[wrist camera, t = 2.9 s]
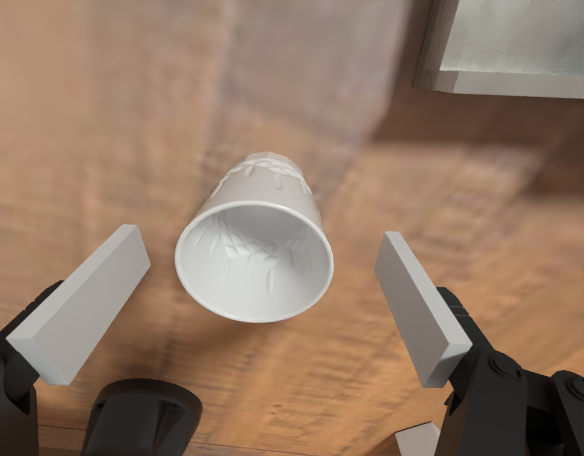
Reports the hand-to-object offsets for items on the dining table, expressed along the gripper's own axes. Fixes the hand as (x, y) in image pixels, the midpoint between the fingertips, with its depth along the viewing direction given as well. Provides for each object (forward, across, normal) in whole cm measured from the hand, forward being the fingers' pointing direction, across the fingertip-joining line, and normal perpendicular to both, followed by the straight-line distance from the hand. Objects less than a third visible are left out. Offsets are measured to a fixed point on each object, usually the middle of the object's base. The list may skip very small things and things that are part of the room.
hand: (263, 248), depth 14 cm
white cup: (+9, 0, 0) cm, 9 cm away
